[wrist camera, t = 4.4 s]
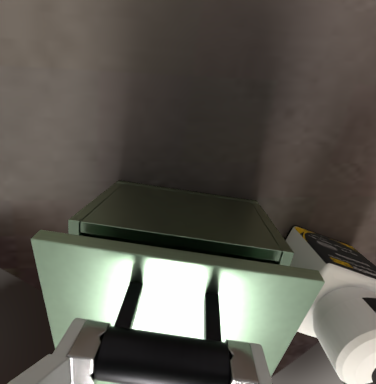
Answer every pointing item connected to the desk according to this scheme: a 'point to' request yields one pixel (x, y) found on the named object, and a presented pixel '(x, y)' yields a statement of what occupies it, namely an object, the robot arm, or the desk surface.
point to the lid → (169, 306)
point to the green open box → (183, 222)
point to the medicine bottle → (340, 304)
